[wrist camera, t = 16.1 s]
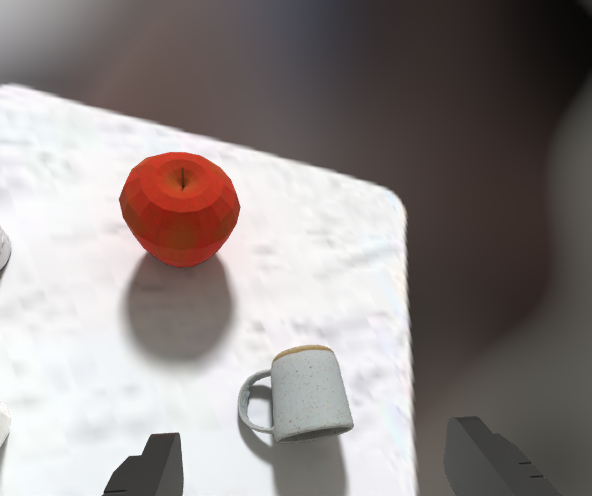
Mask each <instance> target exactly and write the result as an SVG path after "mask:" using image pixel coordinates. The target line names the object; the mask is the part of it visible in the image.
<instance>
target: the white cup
mask: <svg viewBox="0 0 592 496" xmlns="http://www.w3.org/2000/svg"><path fill="white" fill-rule="evenodd" d="M10 425H11V416H10V413H9V410H8V408H7V407H6V406H5V405H4V404H2V403H1V402H0V447H1V446H2V444H3V442H4V441H5V439H6V437H7V435H8V434H9V431H10Z"/></svg>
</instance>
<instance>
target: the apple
mask: <svg viewBox="0 0 592 496" xmlns="http://www.w3.org/2000/svg"><path fill="white" fill-rule="evenodd" d="M119 201H120V206H121V210H122V215H123V218H124V220H125V222H126V223H127V225H128V227H129V228H130V230H131V232H132V233H133V235H134V236H135V237H136V239H137V240H138V241H139V243H140V244H141V245H142V246H143V248H144V249H146V250H147V251H148V252H150V253H151V254H152V255H154V256H155V257H157V258H158V259H160V260H161V261H163V262H164V263H166V264H168V265H172V266H176V267H180V268H182V267H190V266H196V265H198V264H200V263H202V262H204V261H206V260H207V259H208V258H210V257H211V256H212V255H214V254H215V253H216V252H217V251H218V250H219V249H220V248H221V246H222V245H223V244H224V243H225V241H226V240H227V239H228V238H229V236H230V234H231V232H232V231H233V229H234V227H235V225H236V224H237V220H238V216H239V211H240V204H239V201H238V197H237V194H236V191H235V189H234V186H233V184H232V181H231V179H230V178H229V177H228V176H227V175H226V174H225V172H224V171H223V170H222V169H221V168H220V167H219V166H217V165H215V164H214V163H212V162H211V161H209V160H207V159H206V158H204V157H202V156H200V155H195V154H190V153H186V152H169V153H165V154H161V155H156V156H152V157H148V158H146V159H144V160H143V161H142V162H141V163H139V164H138V165H137V166H135V167H134V168H133V169H132V170H131V172H130V174H129V176H128V178H127V180H126V182H125V184H124V187H123V190H122V192H121V195H120V198H119Z"/></svg>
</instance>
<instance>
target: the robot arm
mask: <svg viewBox="0 0 592 496" xmlns="http://www.w3.org/2000/svg"><path fill="white" fill-rule="evenodd" d="M10 252H11V243H10V240H9V238H8V236H7V234H6V233H5V232H4V230H3V229H2V227H1V226H0V270H1V269H2V268H3V266H4V265H5V264H6V262H7V260H8V258H9V256H10ZM444 467H445V472H446V476H447V479H448V481H449V483H450V485H451V487H452V489H453V490H454V492H455V494H456V495H457V496H561V494H560V493H559V492H558V491H557V490H556V489H555V488H554V487H553V486H552V484H551V483H550V482H549V481H548V480H547V479H544V477H543V475H542V474H541V472H540V471H539V470H538V469H537V468H536V467H535V466H534V465H532V464H531V461H530V460H529V459H528V458H527V457H526V456H525V455H524V454H523V453H522V451H520V449H519V448H518V447H517V446H516V445H514V444H513V443H511V442H510V441H508V440H507V439H505V438H504V437H503V436H501V435H500V434H493V433H492V432H491V431H490V430H489V429H488V427H487V426H486V425H485V424H484V423H483V422H482V420H481V419H480V418H478V417H477V416H465V417H451V418H450V419H449V421H448V427H447V436H446V446H445V454H444ZM183 482H184V478H183V464H182V452H181V440H180V434H179V433H162V434H152V435H151V436H150V437H149V439H148V441H147V444H146V446H145V448H144V451H143V453H142V455H139V456H129V457H128V458H127V459H126V460H125V461H124V462H123V463H122V464H121V465H120V466H119V467H118V468H117V469H116V470H115V471H114V472H113V474H112V476H111V478H110V480H109V482H108V484H107V486H106V488H105V490H104V494H103V495H102V496H182V495H183Z"/></svg>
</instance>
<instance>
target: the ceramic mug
mask: <svg viewBox="0 0 592 496" xmlns="http://www.w3.org/2000/svg"><path fill="white" fill-rule="evenodd" d="M268 376H271V386H272V399H273V422H274V426H273V427H272V428H264V427H260V426H256V425H254V424H252V423H251V422H250V421H249V419H248V416H247V402H248V397H249V395H250V392H249V388H250V387H251V386H252V385H253V384H254V383H255V382H256V381H257V380H260V379H262V378H265V377H268ZM238 411H239V416H240V417H241V419H242V421H243V422H244V423H245V424H246V425H247V426H248V427H250V428H251V429H253V430H256V431H258V432H262V433H268V434H274V437H275V441H276V442H279V443H293V442H304V441H310V440H316V439H322V438H327V437H331V436H336V435H339V434H343V433H345V432H347V431H350V430H351V429H352V428H353V427H354V424H353V420H352V416H351V412H350V409H349V404H348V400H347V396H346V392H345V388H344V384H343V380H342V377H341V372H340V368H339V364H338V361H337V359H336V356H335V354H334V352H333V351H332V350H331V349H329V348H328V347H325V346H321V345H306V346H300V347H295V348H292V349H288V350H285V351H283V352H281V353H280V354H278V355H277V356H276V357H275V359H274V360H273V362H272V368H271V369H270V370H264V371H260V372H257V373H255V374H254V375H252V376H250V377H249V378H248V379H247V380H246V381H245V383H244V384H243V386H242V388H241V390H240V393H239V397H238Z"/></svg>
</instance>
